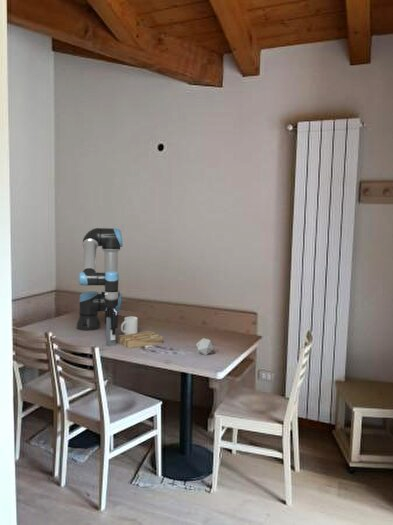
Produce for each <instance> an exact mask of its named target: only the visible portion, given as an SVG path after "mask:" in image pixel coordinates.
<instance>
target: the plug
mask: <svg viewBox="0 0 393 525" xmlns="http://www.w3.org/2000/svg"><path fill="white" fill-rule="evenodd" d="M105 328H106V332H105V333H106V334H105V338H106V339H105V345H106V346H108V347H115V346H116V340H117V336H116V332H117V328H116V329H115V340H110V330H111V329H110V328H111V318H110V317H106V325H105Z"/></svg>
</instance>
